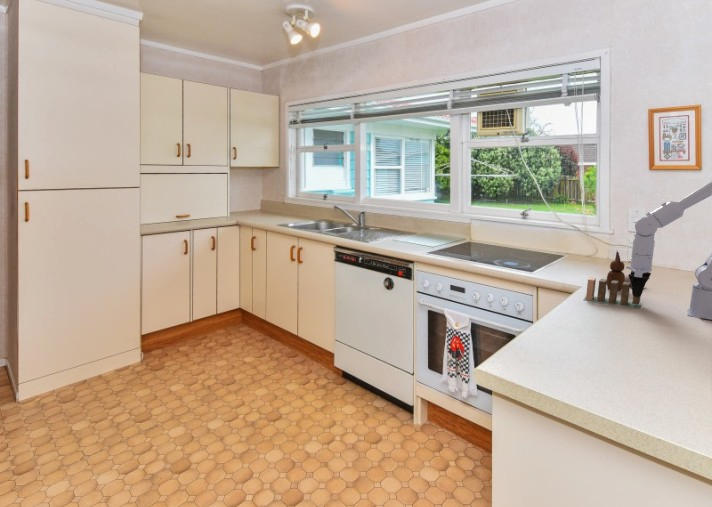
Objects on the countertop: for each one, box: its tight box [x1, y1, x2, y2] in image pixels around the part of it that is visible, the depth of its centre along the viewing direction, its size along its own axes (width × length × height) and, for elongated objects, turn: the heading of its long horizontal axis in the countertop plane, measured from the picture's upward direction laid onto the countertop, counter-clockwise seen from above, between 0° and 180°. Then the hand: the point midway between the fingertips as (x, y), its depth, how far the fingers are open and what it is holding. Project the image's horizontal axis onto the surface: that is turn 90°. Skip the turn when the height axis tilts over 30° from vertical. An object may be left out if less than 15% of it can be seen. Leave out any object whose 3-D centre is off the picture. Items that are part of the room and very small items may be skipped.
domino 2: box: [608, 280, 619, 304], centre depth 146 cm, size 2×4×7 cm, turn 143°
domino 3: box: [620, 282, 631, 306], centre depth 144 cm, size 2×4×7 cm, turn 143°
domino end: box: [585, 277, 597, 300], centre depth 150 cm, size 2×4×7 cm, turn 143°
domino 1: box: [596, 278, 607, 302], centre depth 148 cm, size 2×4×7 cm, turn 143°
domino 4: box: [631, 295, 641, 305], centre depth 142 cm, size 2×4×7 cm, turn 143°
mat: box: [583, 295, 643, 310], centre depth 146 cm, size 17×8×1 cm, turn 53°
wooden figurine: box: [606, 250, 626, 292], centre depth 162 cm, size 7×6×15 cm
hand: (637, 294), depth 142 cm, fingers closed on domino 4, 4 cm apart
